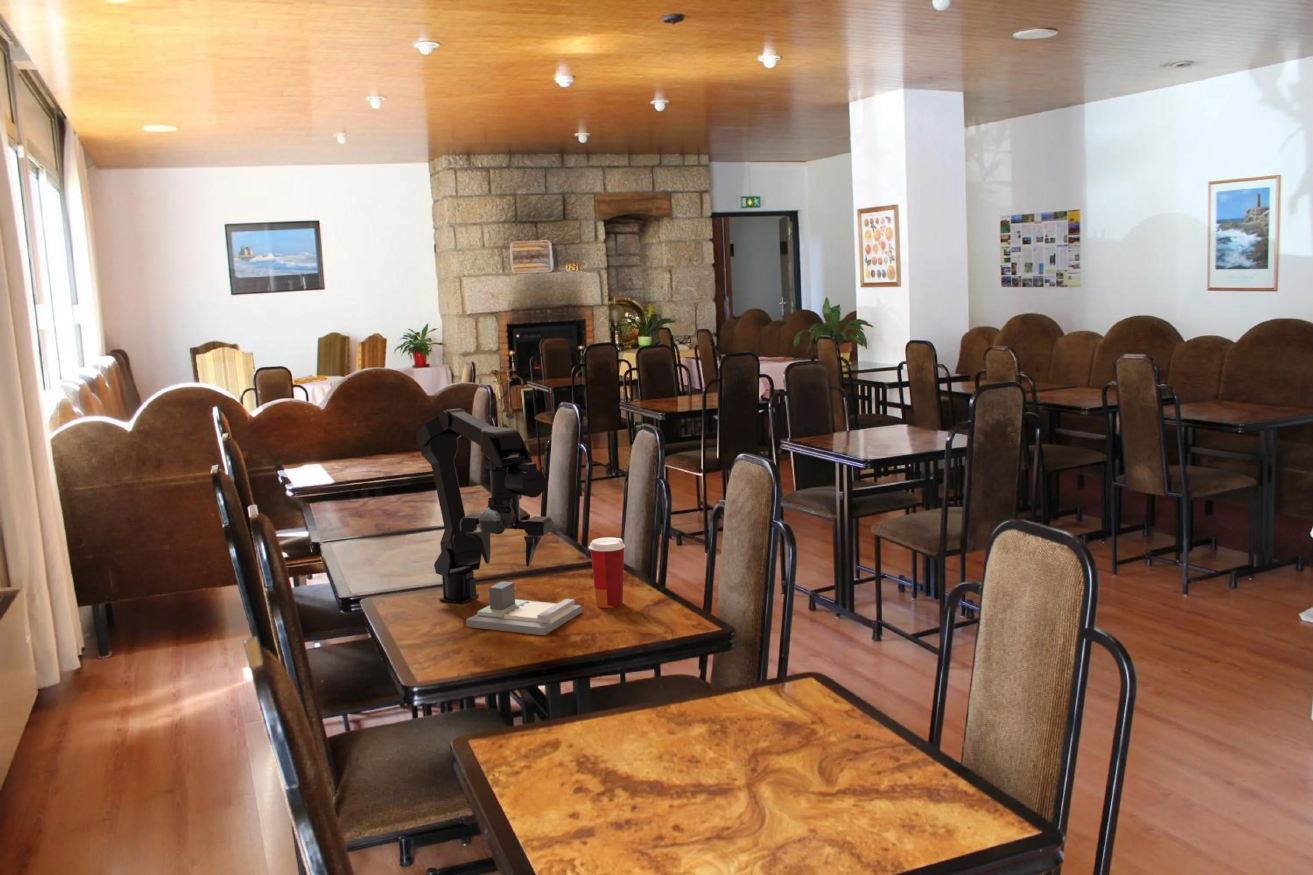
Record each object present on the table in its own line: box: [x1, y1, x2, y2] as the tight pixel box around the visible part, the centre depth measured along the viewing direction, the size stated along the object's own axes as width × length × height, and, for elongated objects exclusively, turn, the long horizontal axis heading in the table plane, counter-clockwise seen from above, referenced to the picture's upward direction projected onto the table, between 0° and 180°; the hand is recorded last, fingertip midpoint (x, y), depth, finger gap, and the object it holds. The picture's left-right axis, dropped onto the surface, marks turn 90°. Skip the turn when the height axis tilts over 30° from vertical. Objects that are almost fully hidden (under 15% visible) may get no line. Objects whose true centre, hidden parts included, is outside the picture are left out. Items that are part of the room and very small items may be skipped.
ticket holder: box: [465, 598, 582, 636], centre depth 228 cm, size 18×16×3 cm
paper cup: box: [588, 536, 626, 609], centre depth 236 cm, size 8×8×14 cm
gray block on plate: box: [476, 580, 527, 618], centre depth 230 cm, size 6×10×5 cm, turn 157°
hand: (507, 564), depth 230 cm, fingers open, 9 cm apart
